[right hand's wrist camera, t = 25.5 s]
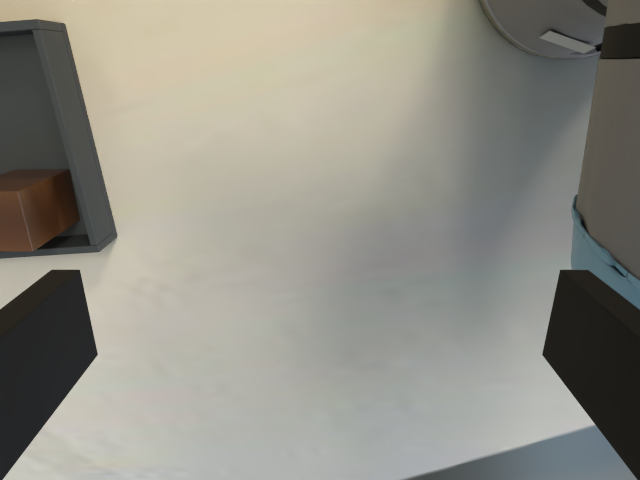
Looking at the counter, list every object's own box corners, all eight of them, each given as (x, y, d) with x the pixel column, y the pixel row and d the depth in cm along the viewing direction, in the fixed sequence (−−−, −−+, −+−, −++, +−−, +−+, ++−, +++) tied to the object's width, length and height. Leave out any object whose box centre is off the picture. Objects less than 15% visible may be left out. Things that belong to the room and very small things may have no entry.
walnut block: (15, 169, 38) (-49, 191, 31) (70, 168, 38) (17, 191, 31) (28, 220, 39) (-30, 251, 33) (80, 220, 39) (33, 251, 33)
